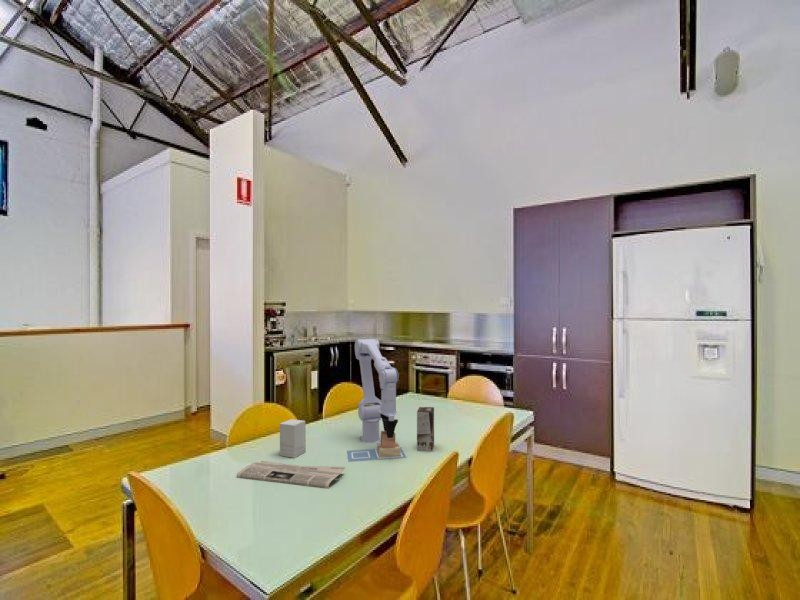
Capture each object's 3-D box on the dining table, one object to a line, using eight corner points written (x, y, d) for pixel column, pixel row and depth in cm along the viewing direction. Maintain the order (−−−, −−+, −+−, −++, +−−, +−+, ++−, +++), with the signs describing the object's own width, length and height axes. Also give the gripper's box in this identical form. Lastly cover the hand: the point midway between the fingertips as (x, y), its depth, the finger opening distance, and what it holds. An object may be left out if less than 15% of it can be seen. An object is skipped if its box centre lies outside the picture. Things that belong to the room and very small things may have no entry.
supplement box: (306, 452, 164) (306, 420, 165) (294, 458, 158) (294, 425, 158) (291, 449, 168) (291, 418, 168) (279, 455, 161) (279, 423, 161)
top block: (380, 443, 164) (380, 431, 164) (393, 443, 165) (393, 430, 165) (382, 448, 159) (382, 435, 159) (395, 447, 160) (395, 434, 160)
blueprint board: (346, 452, 165) (346, 450, 165) (400, 448, 169) (400, 447, 169) (348, 463, 153) (348, 461, 153) (406, 459, 157) (406, 457, 157)
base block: (377, 450, 165) (377, 442, 165) (396, 449, 166) (396, 441, 166) (379, 457, 157) (379, 449, 157) (400, 456, 158) (400, 448, 158)
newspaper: (236, 479, 140) (236, 468, 140) (258, 465, 152) (258, 455, 152) (332, 490, 131) (332, 479, 131) (347, 475, 143) (347, 465, 143)
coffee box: (432, 453, 163) (432, 412, 164) (416, 452, 164) (416, 411, 165) (434, 445, 172) (434, 406, 173) (419, 444, 173) (419, 406, 174)
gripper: (376, 396, 168) (376, 429, 168) (381, 404, 154) (381, 441, 154) (393, 395, 170) (393, 428, 169) (399, 403, 155) (399, 439, 155)
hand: (388, 434), depth 162 cm, fingers open, 7 cm apart
